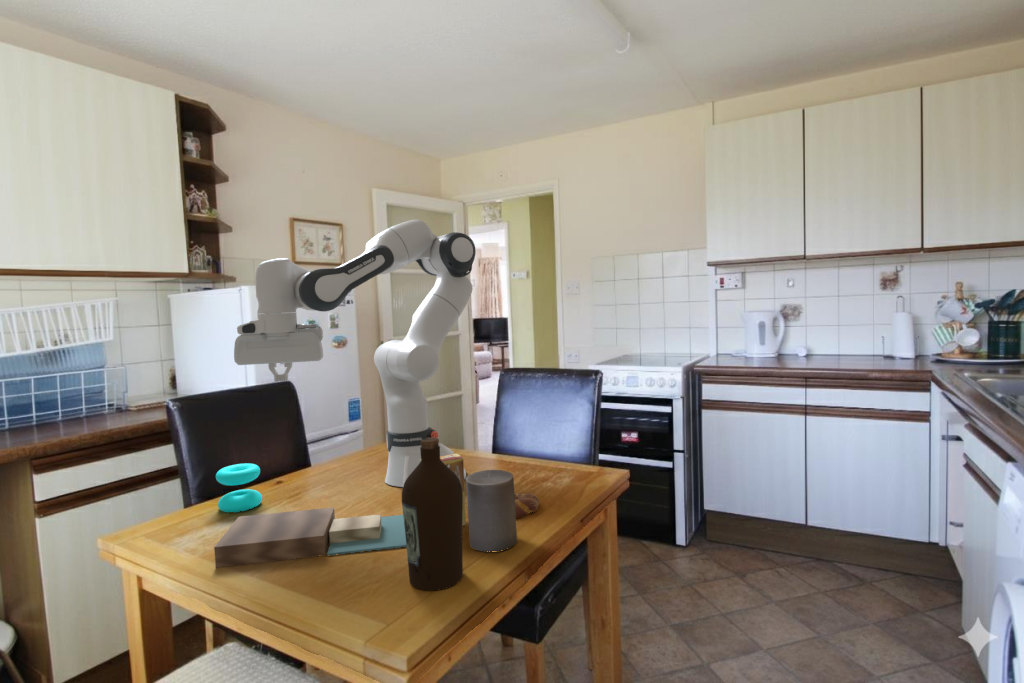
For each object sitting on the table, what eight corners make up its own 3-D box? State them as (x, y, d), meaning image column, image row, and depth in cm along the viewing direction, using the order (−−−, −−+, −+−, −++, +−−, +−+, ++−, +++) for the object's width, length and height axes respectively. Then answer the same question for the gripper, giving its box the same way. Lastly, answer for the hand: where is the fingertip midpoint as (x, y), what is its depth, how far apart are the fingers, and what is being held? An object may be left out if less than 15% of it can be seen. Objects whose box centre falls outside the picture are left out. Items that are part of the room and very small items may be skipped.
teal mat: (409, 516, 131) (409, 514, 131) (409, 546, 114) (409, 544, 114) (337, 523, 128) (337, 521, 128) (327, 556, 111) (327, 553, 111)
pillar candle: (512, 530, 120) (509, 461, 119) (521, 550, 111) (517, 474, 110) (466, 536, 119) (462, 466, 118) (471, 556, 109) (467, 479, 108)
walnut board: (335, 524, 127) (334, 507, 127) (324, 555, 112) (323, 535, 111) (240, 534, 124) (238, 516, 124) (215, 567, 108) (214, 547, 108)
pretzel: (527, 499, 140) (527, 485, 140) (548, 513, 130) (548, 498, 130) (482, 508, 135) (482, 492, 135) (501, 523, 125) (500, 507, 125)
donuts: (233, 461, 147) (268, 462, 145) (236, 499, 147) (270, 500, 146) (205, 473, 137) (243, 474, 135) (209, 513, 138) (245, 515, 136)
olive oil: (455, 559, 108) (449, 429, 106) (474, 584, 98) (468, 441, 96) (399, 572, 103) (392, 437, 102) (414, 599, 94) (406, 450, 92)
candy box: (460, 519, 128) (457, 452, 127) (467, 526, 124) (463, 457, 123) (422, 527, 124) (418, 458, 123) (428, 534, 120) (424, 463, 119)
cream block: (381, 525, 125) (381, 514, 125) (379, 538, 118) (379, 526, 118) (334, 530, 123) (333, 519, 123) (329, 543, 116) (329, 531, 116)
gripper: (323, 323, 144) (327, 377, 145) (237, 326, 140) (241, 382, 141) (320, 323, 138) (323, 380, 138) (229, 327, 134) (233, 385, 135)
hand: (281, 381), depth 140 cm, fingers closed
